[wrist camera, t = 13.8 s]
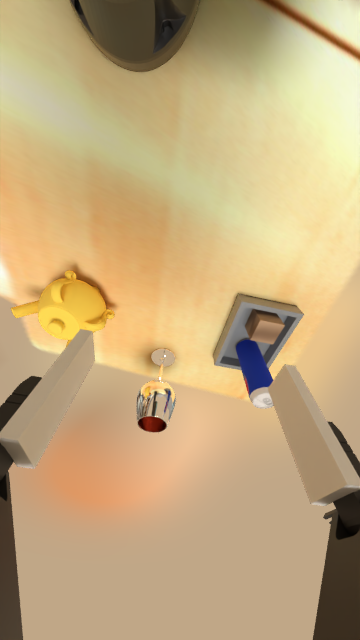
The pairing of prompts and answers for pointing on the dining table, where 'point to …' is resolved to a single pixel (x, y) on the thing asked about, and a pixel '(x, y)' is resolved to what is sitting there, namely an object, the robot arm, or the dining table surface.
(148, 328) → the dining table surface
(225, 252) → the dining table surface
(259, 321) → the walnut block
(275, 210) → the dining table surface
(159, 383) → the wineglass
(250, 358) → the beverage can
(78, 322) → the teapot
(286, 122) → the dining table surface
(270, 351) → the tray
